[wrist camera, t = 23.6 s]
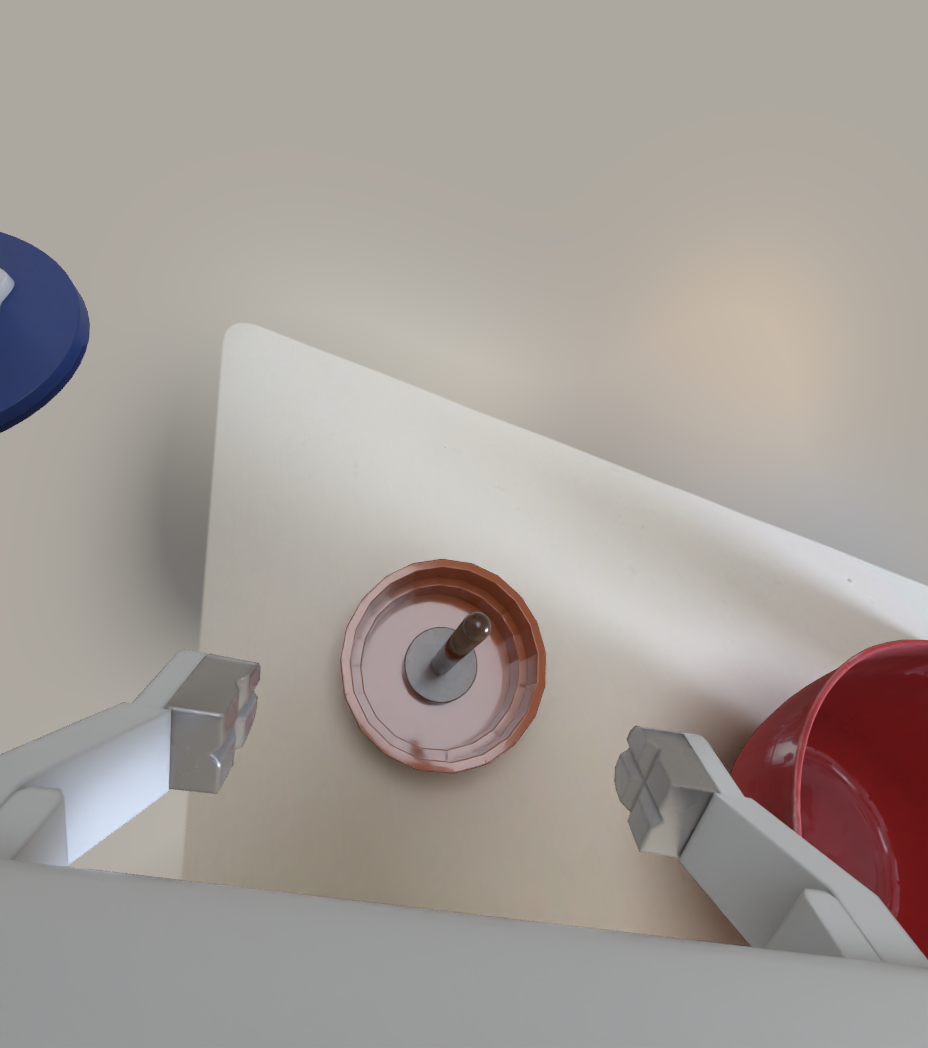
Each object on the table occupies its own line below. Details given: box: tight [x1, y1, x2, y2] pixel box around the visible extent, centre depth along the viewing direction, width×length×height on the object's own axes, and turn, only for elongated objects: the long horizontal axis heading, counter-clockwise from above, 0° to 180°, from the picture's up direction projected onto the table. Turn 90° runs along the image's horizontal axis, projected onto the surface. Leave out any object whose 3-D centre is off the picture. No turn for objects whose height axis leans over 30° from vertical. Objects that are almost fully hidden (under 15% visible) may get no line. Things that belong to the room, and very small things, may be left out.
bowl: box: [340, 559, 546, 773], centre depth 38 cm, size 15×15×6 cm
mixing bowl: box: [730, 640, 928, 960], centre depth 34 cm, size 28×28×15 cm
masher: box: [403, 612, 491, 705], centre depth 33 cm, size 6×6×17 cm
